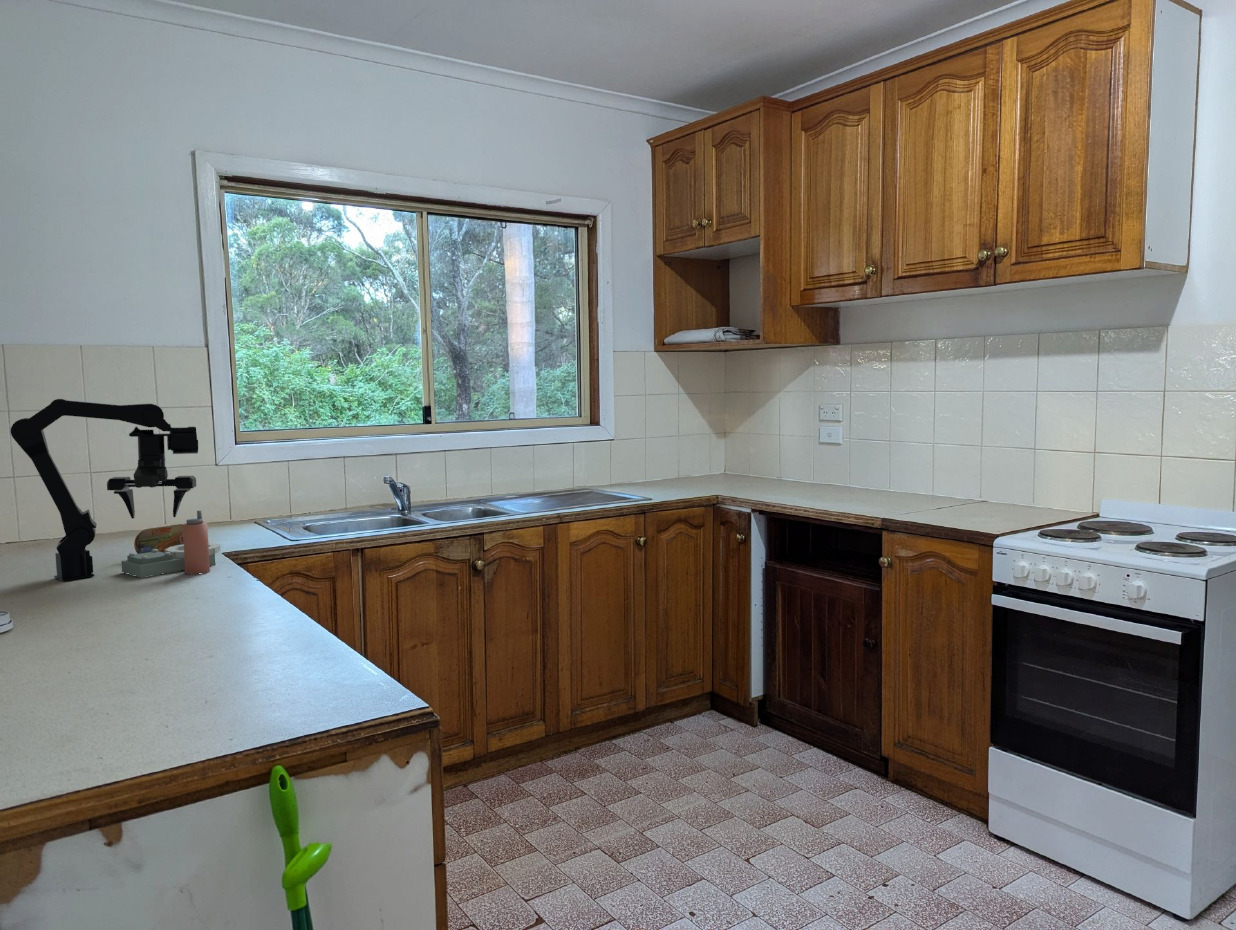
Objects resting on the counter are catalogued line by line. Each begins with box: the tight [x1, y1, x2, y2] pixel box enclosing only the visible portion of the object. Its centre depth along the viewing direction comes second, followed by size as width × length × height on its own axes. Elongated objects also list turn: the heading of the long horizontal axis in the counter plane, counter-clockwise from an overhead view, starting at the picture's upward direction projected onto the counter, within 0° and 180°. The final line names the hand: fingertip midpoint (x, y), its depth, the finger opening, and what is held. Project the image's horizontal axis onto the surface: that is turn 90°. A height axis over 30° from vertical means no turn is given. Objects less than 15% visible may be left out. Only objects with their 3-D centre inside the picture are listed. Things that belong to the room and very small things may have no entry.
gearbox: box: [120, 542, 221, 578], centre depth 213 cm, size 21×12×5 cm, turn 143°
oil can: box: [183, 510, 211, 575], centre depth 207 cm, size 5×5×15 cm
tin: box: [133, 523, 184, 554], centre depth 227 cm, size 15×3×8 cm, turn 143°
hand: (153, 517), depth 211 cm, fingers open, 9 cm apart
